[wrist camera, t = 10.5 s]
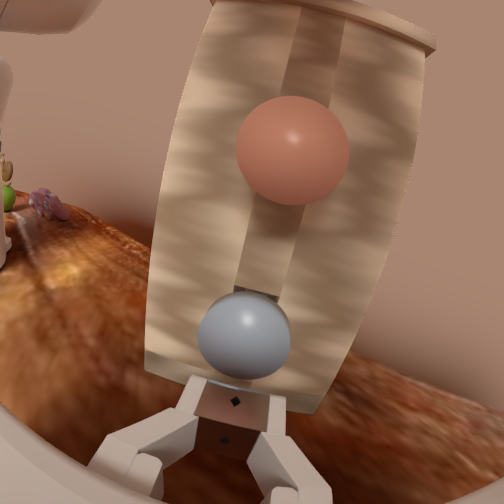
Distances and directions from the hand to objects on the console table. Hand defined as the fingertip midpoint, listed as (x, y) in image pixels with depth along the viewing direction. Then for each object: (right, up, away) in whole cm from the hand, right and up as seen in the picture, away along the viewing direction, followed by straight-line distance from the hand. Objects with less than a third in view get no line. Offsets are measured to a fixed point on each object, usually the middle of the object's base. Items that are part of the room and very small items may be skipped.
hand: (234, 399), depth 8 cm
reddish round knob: (+2, +7, +6) cm, 10 cm away
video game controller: (-39, +11, +33) cm, 52 cm away
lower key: (0, 0, +8) cm, 8 cm away
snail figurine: (-51, +13, +29) cm, 60 cm away
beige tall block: (-1, -4, +11) cm, 12 cm away
